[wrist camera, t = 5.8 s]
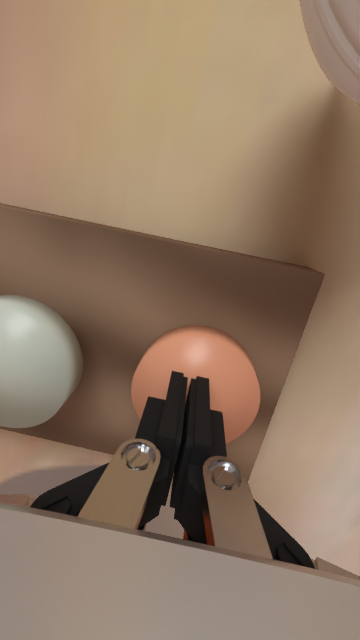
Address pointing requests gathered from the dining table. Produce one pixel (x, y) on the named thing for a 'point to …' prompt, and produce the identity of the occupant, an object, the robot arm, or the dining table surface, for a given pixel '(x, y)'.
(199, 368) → the terracotta button
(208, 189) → the dining table surface
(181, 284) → the button board
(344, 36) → the spinning top
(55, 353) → the sage button
